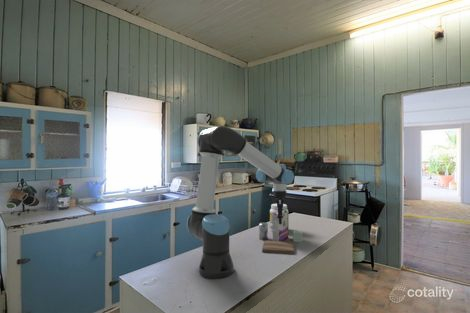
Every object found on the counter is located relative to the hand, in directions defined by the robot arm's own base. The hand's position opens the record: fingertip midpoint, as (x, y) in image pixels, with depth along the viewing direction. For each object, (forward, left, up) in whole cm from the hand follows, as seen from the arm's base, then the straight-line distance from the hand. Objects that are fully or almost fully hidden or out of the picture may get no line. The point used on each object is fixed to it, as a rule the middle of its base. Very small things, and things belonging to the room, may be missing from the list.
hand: (280, 226), depth 151 cm
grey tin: (0, +10, -8) cm, 13 cm away
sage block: (0, -10, -8) cm, 13 cm away
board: (-14, +1, -8) cm, 16 cm away
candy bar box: (0, 0, -8) cm, 8 cm away
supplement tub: (+18, +1, -8) cm, 20 cm away
